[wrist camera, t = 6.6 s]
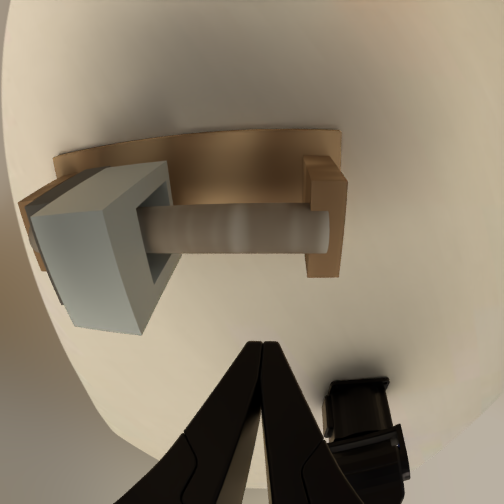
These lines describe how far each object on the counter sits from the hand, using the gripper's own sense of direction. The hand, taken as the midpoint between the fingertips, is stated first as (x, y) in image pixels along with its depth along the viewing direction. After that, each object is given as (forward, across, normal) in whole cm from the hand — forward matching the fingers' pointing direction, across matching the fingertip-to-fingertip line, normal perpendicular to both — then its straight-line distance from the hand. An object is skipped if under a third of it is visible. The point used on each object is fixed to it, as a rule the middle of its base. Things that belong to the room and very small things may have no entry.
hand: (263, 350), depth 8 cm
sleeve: (+10, +8, 0) cm, 12 cm away
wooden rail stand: (+13, +6, 0) cm, 14 cm away
